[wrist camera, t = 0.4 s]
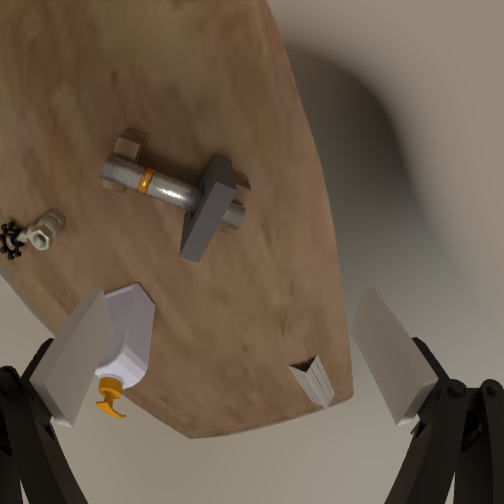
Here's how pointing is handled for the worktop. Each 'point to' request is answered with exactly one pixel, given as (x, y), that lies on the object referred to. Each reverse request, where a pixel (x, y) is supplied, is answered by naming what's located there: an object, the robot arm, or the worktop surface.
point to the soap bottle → (125, 344)
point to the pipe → (163, 188)
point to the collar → (208, 208)
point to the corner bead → (315, 383)
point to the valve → (32, 234)
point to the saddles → (131, 149)
